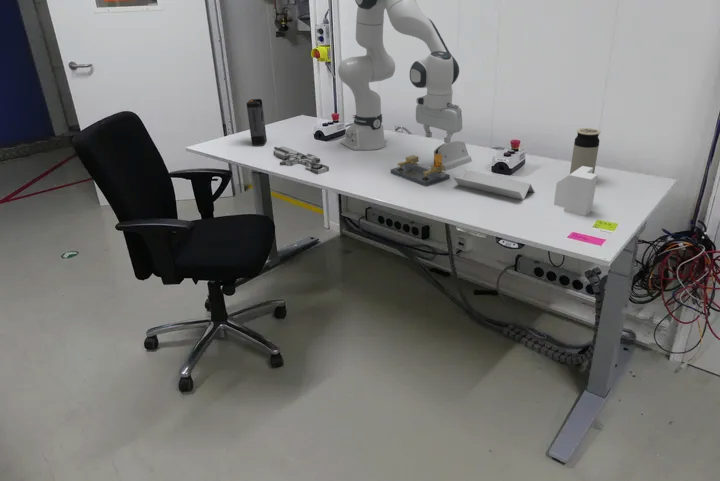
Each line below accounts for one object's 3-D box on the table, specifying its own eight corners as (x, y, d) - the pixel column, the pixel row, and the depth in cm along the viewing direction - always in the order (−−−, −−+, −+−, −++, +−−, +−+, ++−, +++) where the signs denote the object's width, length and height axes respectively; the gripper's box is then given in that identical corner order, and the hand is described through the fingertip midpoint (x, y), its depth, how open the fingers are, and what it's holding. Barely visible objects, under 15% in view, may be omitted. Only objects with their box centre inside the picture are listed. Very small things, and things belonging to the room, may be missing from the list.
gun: (254, 151, 230) (283, 142, 239) (255, 156, 232) (284, 148, 240) (308, 172, 202) (338, 162, 210) (309, 179, 203) (339, 168, 211)
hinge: (444, 170, 203) (439, 145, 201) (436, 172, 207) (430, 147, 205) (472, 161, 212) (467, 136, 210) (463, 162, 216) (458, 138, 214)
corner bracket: (584, 216, 161) (591, 179, 155) (549, 207, 168) (554, 172, 162) (597, 205, 168) (604, 169, 162) (563, 197, 175) (568, 163, 169)
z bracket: (464, 192, 194) (470, 177, 195) (527, 208, 179) (534, 192, 180) (452, 177, 184) (459, 161, 185) (518, 192, 169) (526, 175, 170)
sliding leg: (421, 177, 192) (422, 157, 189) (438, 172, 196) (439, 152, 193) (427, 179, 190) (427, 159, 186) (444, 174, 194) (444, 154, 191)
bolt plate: (390, 173, 203) (390, 160, 201) (413, 166, 209) (413, 153, 207) (426, 186, 189) (426, 172, 186) (449, 178, 195) (450, 165, 193)
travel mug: (594, 184, 184) (603, 133, 176) (571, 183, 186) (578, 133, 177) (590, 176, 191) (598, 127, 183) (567, 176, 193) (574, 127, 184)
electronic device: (264, 146, 244) (258, 102, 235) (251, 146, 244) (245, 103, 235) (267, 140, 252) (262, 98, 243) (255, 141, 252) (249, 99, 243)
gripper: (467, 104, 177) (465, 144, 183) (425, 95, 191) (424, 132, 198) (454, 107, 173) (452, 148, 180) (413, 98, 188) (412, 135, 194)
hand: (437, 139), depth 189 cm, fingers open, 8 cm apart
